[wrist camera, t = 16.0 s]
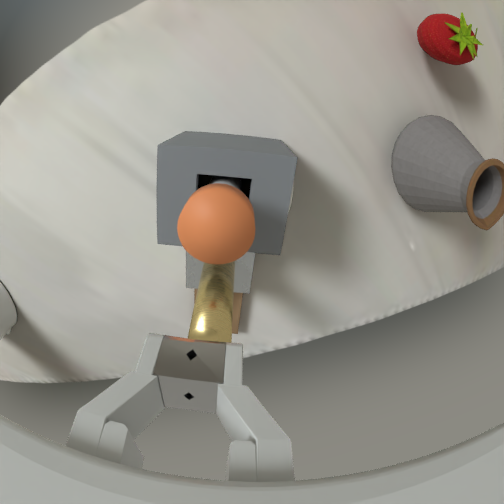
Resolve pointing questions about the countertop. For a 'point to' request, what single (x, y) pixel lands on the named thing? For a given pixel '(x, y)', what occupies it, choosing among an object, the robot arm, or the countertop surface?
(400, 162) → the coffee pot
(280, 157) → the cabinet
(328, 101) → the countertop surface
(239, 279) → the carriage
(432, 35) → the strawberry
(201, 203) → the button
